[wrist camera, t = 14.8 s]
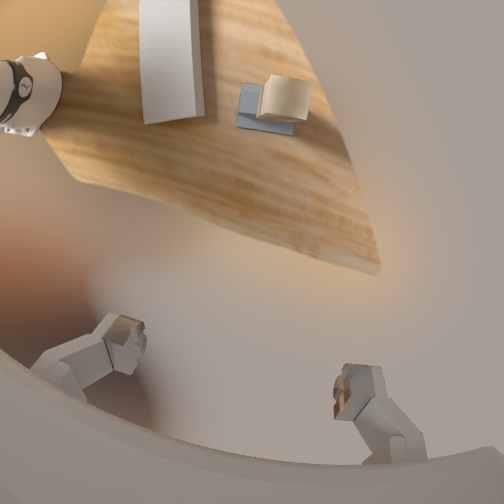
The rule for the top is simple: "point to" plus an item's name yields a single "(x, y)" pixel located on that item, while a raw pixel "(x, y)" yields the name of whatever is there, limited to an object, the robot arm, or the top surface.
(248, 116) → the ridge block
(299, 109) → the ash post
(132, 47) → the top surface
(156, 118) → the decorative molding
